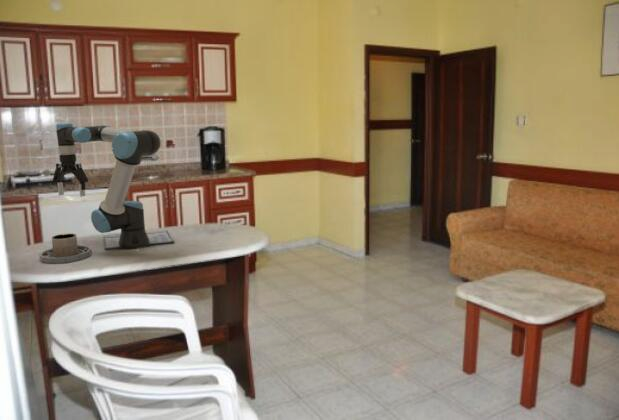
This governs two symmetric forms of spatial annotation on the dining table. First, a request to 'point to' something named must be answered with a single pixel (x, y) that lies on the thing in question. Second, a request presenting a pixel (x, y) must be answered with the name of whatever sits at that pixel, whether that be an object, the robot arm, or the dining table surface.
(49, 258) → the tray
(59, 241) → the planter
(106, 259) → the dining table surface
